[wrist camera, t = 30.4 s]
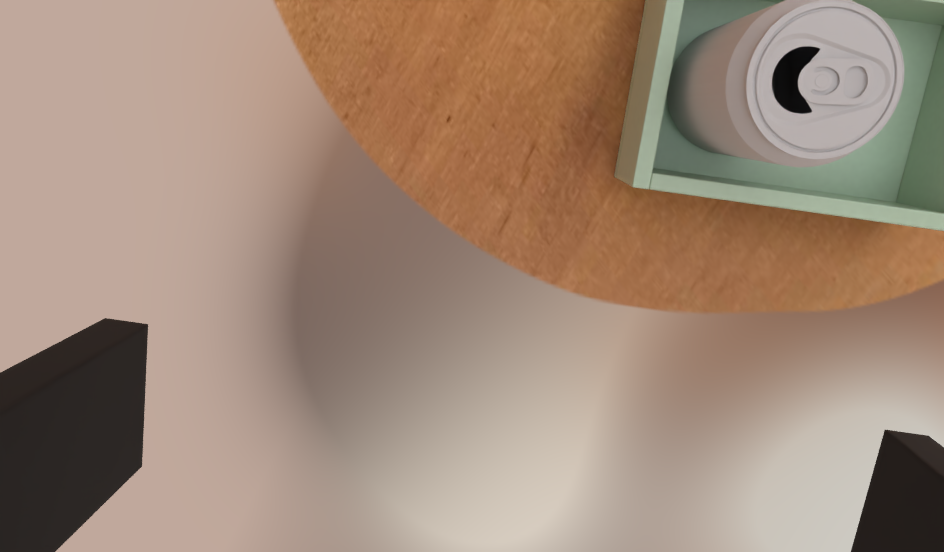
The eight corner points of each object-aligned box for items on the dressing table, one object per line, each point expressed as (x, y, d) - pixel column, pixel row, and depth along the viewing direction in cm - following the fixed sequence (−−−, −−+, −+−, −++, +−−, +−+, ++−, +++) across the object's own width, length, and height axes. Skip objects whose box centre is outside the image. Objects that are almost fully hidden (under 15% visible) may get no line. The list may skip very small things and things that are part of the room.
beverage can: (669, 24, 38) (746, -16, 26) (796, 28, 38) (930, -10, 26) (658, 150, 39) (726, 166, 28) (781, 155, 39) (901, 173, 27)
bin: (613, 176, 40) (632, 187, 35) (650, -29, 38) (676, -54, 32) (898, 217, 40) (963, 233, 35) (952, 13, 38) (1031, -5, 32)
